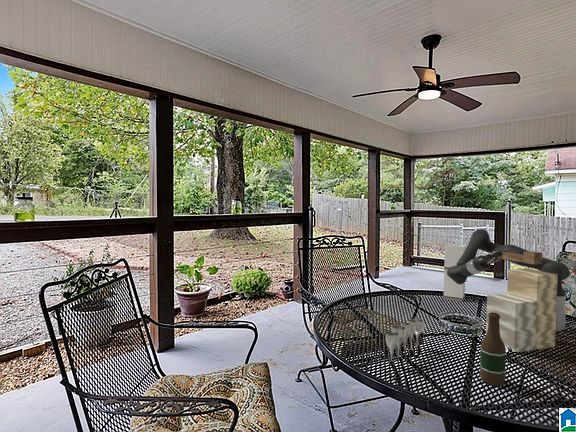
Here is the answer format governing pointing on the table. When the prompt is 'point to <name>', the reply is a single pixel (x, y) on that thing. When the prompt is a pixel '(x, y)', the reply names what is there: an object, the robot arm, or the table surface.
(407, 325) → the goblet set
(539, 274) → the step shelf
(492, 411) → the table surface
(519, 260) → the wooden mallet
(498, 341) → the beer bottle
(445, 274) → the white tall block
